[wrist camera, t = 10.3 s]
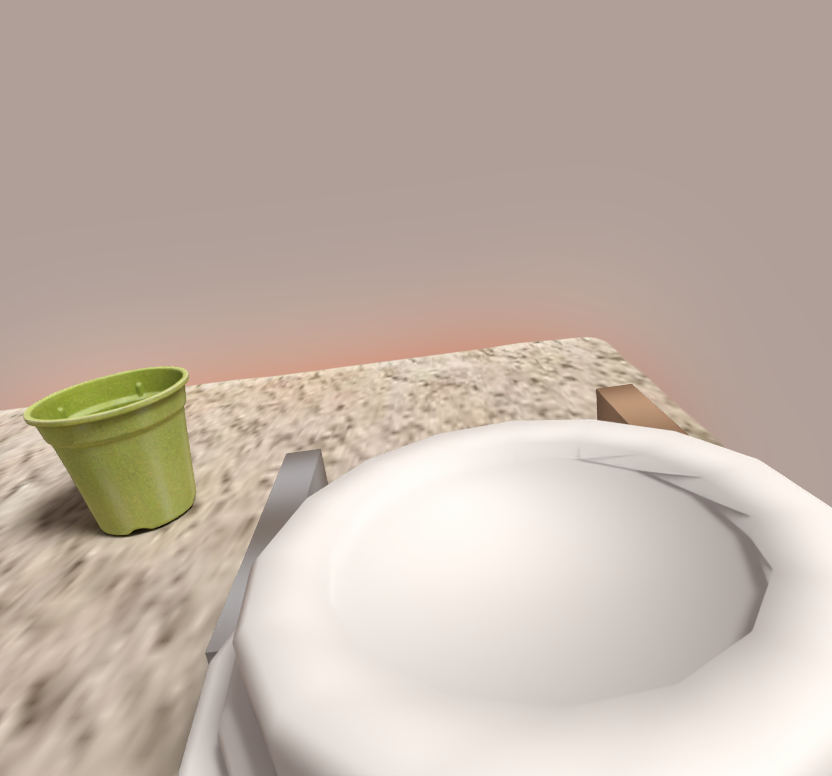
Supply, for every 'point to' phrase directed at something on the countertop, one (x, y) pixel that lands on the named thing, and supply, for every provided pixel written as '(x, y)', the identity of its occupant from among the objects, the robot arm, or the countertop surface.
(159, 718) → the countertop surface
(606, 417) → the shelf
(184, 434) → the plant pot
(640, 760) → the coffee cup
